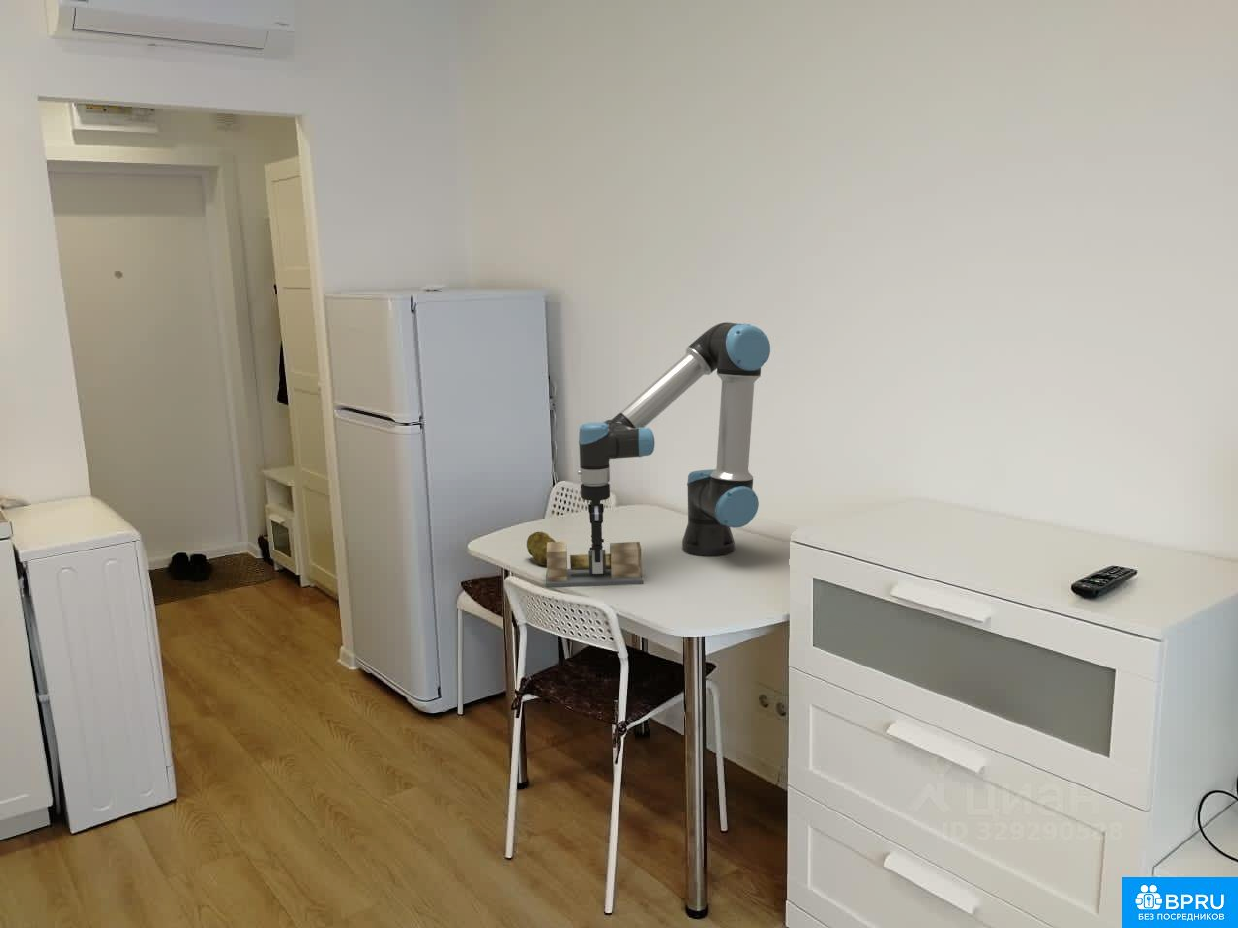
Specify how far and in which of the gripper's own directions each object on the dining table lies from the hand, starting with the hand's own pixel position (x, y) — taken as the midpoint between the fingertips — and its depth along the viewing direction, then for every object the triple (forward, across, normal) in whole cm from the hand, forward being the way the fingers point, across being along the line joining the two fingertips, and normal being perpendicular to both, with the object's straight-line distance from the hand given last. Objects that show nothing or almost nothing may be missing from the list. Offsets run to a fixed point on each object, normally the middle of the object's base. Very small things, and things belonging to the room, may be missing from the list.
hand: (597, 570), depth 255 cm
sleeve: (+1, 0, +8) cm, 8 cm away
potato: (+2, -16, -14) cm, 22 cm away
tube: (0, 0, +1) cm, 2 cm away
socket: (+2, 0, -10) cm, 11 cm away
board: (+2, 0, -1) cm, 2 cm away
